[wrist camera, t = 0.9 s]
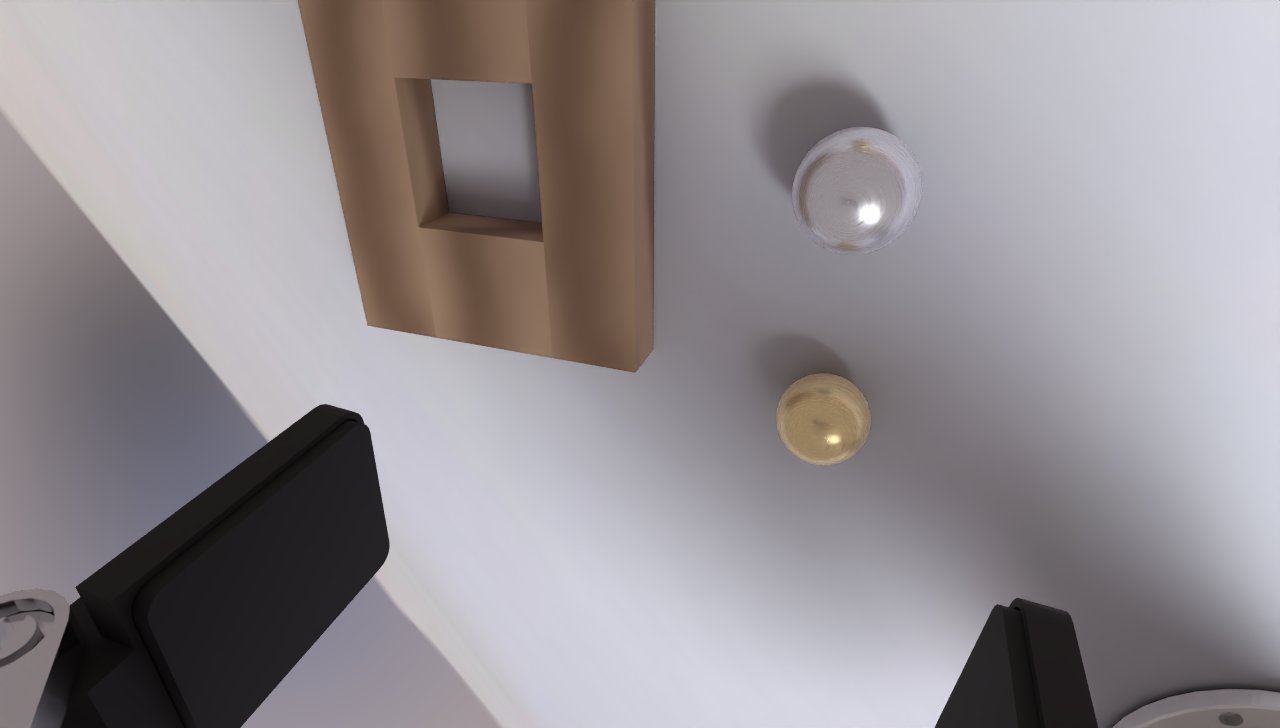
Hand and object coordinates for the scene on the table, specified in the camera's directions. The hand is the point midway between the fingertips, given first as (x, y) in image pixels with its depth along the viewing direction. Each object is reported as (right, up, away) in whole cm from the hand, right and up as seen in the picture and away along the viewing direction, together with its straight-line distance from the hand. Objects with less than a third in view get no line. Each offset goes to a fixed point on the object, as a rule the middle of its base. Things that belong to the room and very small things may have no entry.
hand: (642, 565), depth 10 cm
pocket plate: (-6, +13, +22) cm, 26 cm away
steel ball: (+8, +9, +15) cm, 19 cm away
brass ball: (+8, +1, +20) cm, 22 cm away
